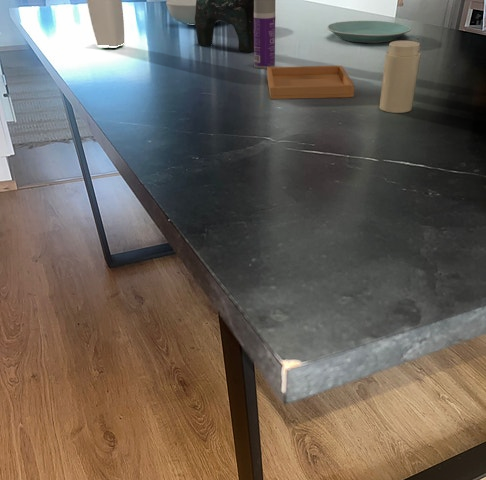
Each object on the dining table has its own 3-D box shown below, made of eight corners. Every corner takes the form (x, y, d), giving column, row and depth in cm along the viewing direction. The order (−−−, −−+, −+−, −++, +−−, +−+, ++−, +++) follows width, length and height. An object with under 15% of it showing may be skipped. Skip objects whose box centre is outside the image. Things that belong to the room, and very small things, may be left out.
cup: (92, 49, 139) (81, -15, 130) (106, 44, 144) (96, -19, 135) (117, 50, 137) (107, -15, 128) (130, 45, 142) (121, -19, 134)
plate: (369, 27, 155) (370, 16, 154) (427, 39, 140) (429, 27, 138) (309, 36, 146) (310, 25, 144) (365, 50, 130) (366, 37, 129)
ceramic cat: (265, 50, 133) (265, -43, 121) (249, 55, 129) (247, -41, 117) (207, 42, 143) (202, -45, 132) (190, 46, 139) (184, -43, 128)
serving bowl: (163, 21, 173) (160, -3, 169) (224, 16, 177) (223, -7, 173) (175, 32, 156) (173, 6, 152) (242, 26, 161) (242, 1, 157)
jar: (407, 102, 95) (417, 39, 89) (415, 112, 90) (426, 46, 84) (376, 103, 95) (384, 40, 89) (382, 113, 90) (391, 47, 84)
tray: (340, 75, 111) (341, 65, 110) (353, 97, 98) (354, 85, 97) (267, 77, 111) (267, 67, 110) (270, 99, 99) (270, 87, 97)
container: (273, 68, 117) (274, -8, 109) (252, 68, 118) (252, -8, 109) (275, 63, 121) (276, -11, 112) (255, 63, 122) (255, -11, 113)
